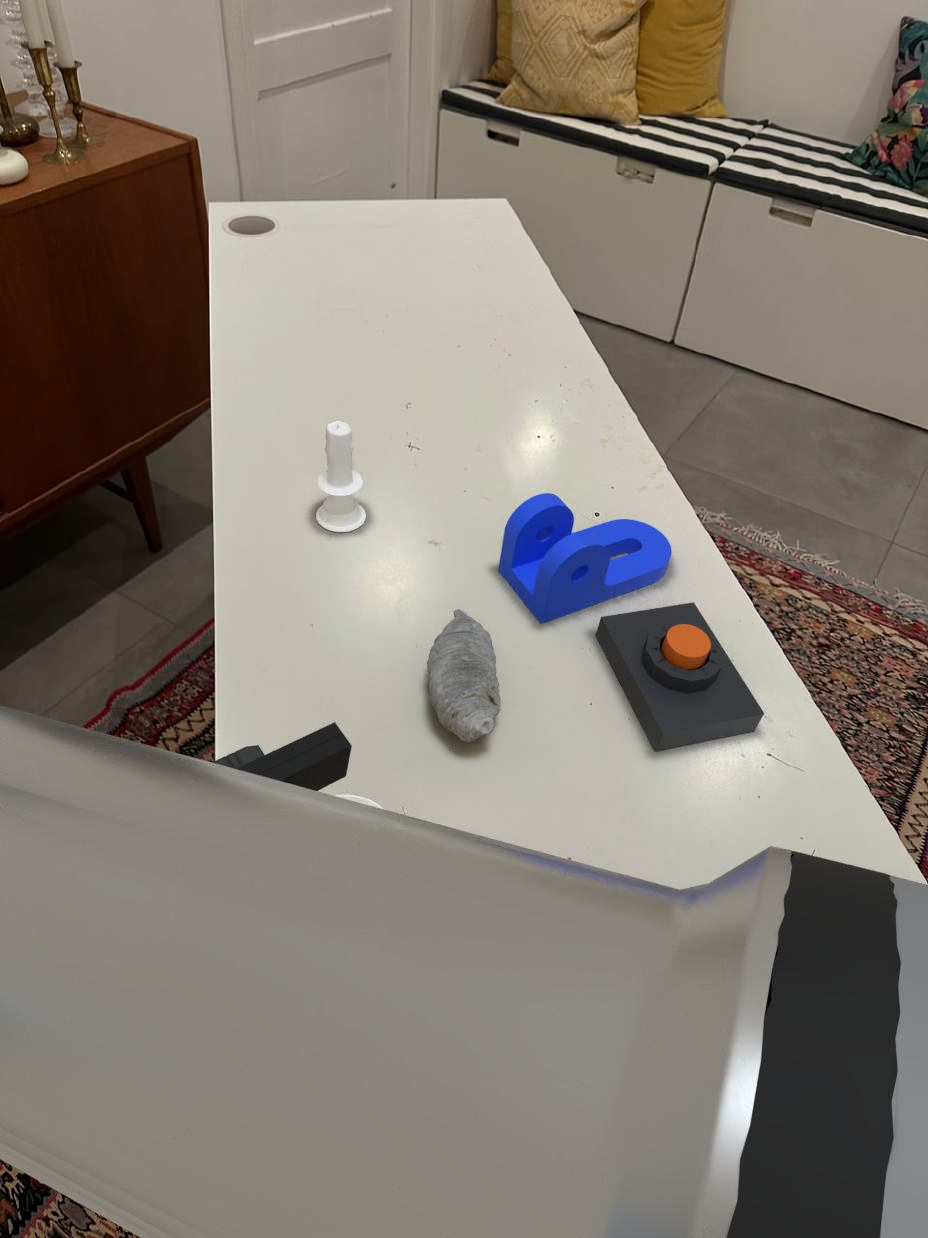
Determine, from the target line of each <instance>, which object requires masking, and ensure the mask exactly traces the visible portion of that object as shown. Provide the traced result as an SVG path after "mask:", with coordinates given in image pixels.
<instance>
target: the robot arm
mask: <svg viewBox="0 0 928 1238" xmlns="http://www.w3.org/2000/svg"><path fill="white" fill-rule="evenodd" d="M352 747H353V745H352V744H351V742H350V741H349V740H348V738H347V737H346V735H345V734H344V733H343V731H342V730H341V728H340V727H339V725H338V723H336V722H335V721H334V722H332V723H329V724H328V725H326V726H324V727H321V728H319V729H317V730H315V731H313V732H311V733H308V734H307V735H305V736H302V737H300V738H298V739H296V740H294V741H291V742H289V743H288V744H285V745H283V746H281V747H279V748H277V749H275V750H273V751H271V752H268V753H266V754H265V753H264V751H263V750H262V748H261V747H260V745H259V744H256V745H247V746H244V747H241V748H239V749H237V750H235V751H234V752H231V753H228V754H227V755H225V756H223V757H220V758H218V759H216V760H214V761H212V762H211V761H207V760H205V759H204V760H203V759H200V758H196V757H192V756H189V755H185V754H183V753H182V754H181V753H177V752H175V751H170V750H167V749H163V748H159V747H156V746H152V745H148V744H144V743H142V742H137V741H134V740H130V739H126V738H123V737H119V736H115V735H112V734H108V733H104V732H100V731H96V730H94V729H89V728H86V727H82V726H78V725H76V724H71V723H67V722H64V721H60V720H57V719H54V718H49V717H45V716H42V715H38V714H34V713H31V712H27V711H23V710H20V709H16V708H12V707H9V706H5V705H1V704H0V1160H1V1161H2V1162H4V1163H5V1164H8V1165H10V1166H12V1167H14V1168H15V1169H17V1170H19V1171H20V1172H22V1173H24V1174H26V1175H27V1176H30V1177H31V1178H33V1179H35V1180H36V1181H38V1182H40V1183H42V1184H43V1185H46V1186H47V1187H49V1188H50V1189H53V1190H54V1191H57V1192H58V1193H60V1194H61V1195H63V1196H65V1197H67V1198H69V1199H70V1200H72V1201H74V1202H76V1203H78V1204H80V1205H81V1206H83V1207H84V1208H86V1209H88V1210H91V1211H92V1212H93V1213H96V1214H98V1215H99V1216H101V1217H103V1218H105V1219H107V1220H108V1221H110V1222H112V1223H114V1224H115V1225H117V1226H119V1227H121V1228H122V1229H124V1230H126V1231H128V1232H130V1233H132V1234H133V1235H134V1236H137V1237H139V1238H928V884H926V883H922V882H918V881H914V880H910V879H907V878H903V877H899V876H896V875H891V874H889V873H888V874H887V873H886V872H882V871H877V870H874V869H870V868H865V867H860V866H858V865H852V864H850V863H849V864H848V863H845V862H842V861H841V862H840V861H837V860H832V859H829V858H824V857H821V856H816V855H811V854H808V853H804V852H799V851H796V850H792V849H788V848H784V847H783V848H782V847H778V846H773V845H770V846H768V847H767V848H765V849H763V850H761V851H760V852H758V853H756V854H755V855H753V856H751V857H750V858H748V859H746V860H745V861H743V862H742V863H741V862H740V864H738V865H736V866H735V867H733V868H731V869H730V870H728V871H726V872H724V873H723V874H721V875H720V876H718V877H716V878H714V879H713V880H711V881H709V882H708V883H703V884H699V885H695V886H690V887H686V888H681V889H680V888H679V889H678V888H675V887H671V886H668V885H664V884H660V883H657V882H653V881H649V880H646V879H642V878H639V877H634V876H631V875H627V874H624V873H619V872H616V871H612V870H609V869H605V868H602V867H598V866H594V865H591V864H586V863H583V862H579V861H576V860H572V859H568V858H565V857H561V856H557V855H554V854H549V853H547V852H543V851H539V850H535V849H531V848H527V847H524V846H522V845H521V846H520V845H517V844H513V843H509V842H506V841H503V840H498V839H496V838H495V839H494V838H491V837H488V836H483V835H479V834H476V833H472V832H470V831H469V832H468V831H465V830H462V829H458V828H455V827H451V826H447V825H443V824H439V823H435V822H432V821H428V820H425V819H421V818H417V817H415V816H410V815H406V814H402V813H399V812H394V811H392V810H388V809H385V808H384V809H385V810H384V809H381V808H377V807H373V806H370V805H366V804H362V803H359V802H355V801H351V800H348V799H344V798H340V797H337V796H333V794H329V793H326V792H322V791H321V790H323V789H324V788H326V787H328V786H330V785H332V784H334V783H337V782H338V781H340V780H342V779H344V778H346V777H347V773H348V768H349V763H350V757H351V752H352Z"/></svg>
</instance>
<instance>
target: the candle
mask: <svg viewBox="0 0 928 1238" xmlns="http://www.w3.org/2000/svg"><path fill="white" fill-rule="evenodd" d="M352 431H353V430H352V427H351V426H350V424H349V423H347V422H344V421H340V420H334V421H333V422H331V423H327V425H326V427H325V446H324V452H325V454H326V467H327V470H325V471H323V472H322V473H321V474H319V476H318V477H317V486H318V488H319V489H320V490H321V491H322V493H325V494H328V495H329V496H328V497H327V498H326V499H324V501H323V503H322V505H321V506H320V507H318V509H317V511H316V514H315V519H316V521H317V523H318V524H319V525H320V526H321V527H322V528H323V529H326V530H327V531H330V532H334V533H349V532H352V531H355V530H357V529H359V528H360V527H362V526H363V524H364V523H365V522H366V519H367V513H366V510H365V509H364V507H363V506H362V505H360V504H359V502H358V501H357V499H356V498H354V497H353V496H352V495H354V494H356V493H358V492H359V491H360V490H361V489H362V487H363V485H364V479H363V477H362V476H361V475H360V473H358V471H355V470H354V469H353V451H354V443H353V432H352Z"/></svg>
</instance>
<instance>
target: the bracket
mask: <svg viewBox="0 0 928 1238" xmlns="http://www.w3.org/2000/svg"><path fill="white" fill-rule="evenodd" d="M574 524H575V515H574V513H573V511H572V510H571V509H570V507H568V506H567V504H566V503H565V502H564V501H563V500H562V499H561V498H560V497H559V496H558V495H556V494H554V493H550V492H544V493H539V494H536V495H534V496H533V495H532V496H531V497H530V498H528V499H526V500H525V501H523V502H522V503H520V504H519V506H517V507H516V508H515V510H514V511H513V512H512V513H511V514H510V516H509V518H508V519H507V521H506V524H505V528H504V531H503V538H502V544H501V549H500V555H499V563H498V568H497V569H498V570H497V571H498V573H499V574H500V575H501V576H502V578H503V579H504V580H505V582H506V583H507V584H508V585H509V586H510V588H511V589H512V590H513V592H514V593H515V594H516V595H517V596H518V597H519V599H520V600H521V601H522V603H523V604H524V605H525V607H526V608H527V609H528V610H529V611H530V613H531V614H532V615H533V616H534V618H535V619H536V621H538V623H539V624H540V625H543V624H545V623H548V622H551V621H553V620H556V619H559V618H563V617H565V616H567V615H570V614H574V613H575V612H579V611H581V610H584V609H586V608H590V607H592V606H595V605H598V604H601V603H604V602H607V601H609V600H611V599H615V598H617V597H620V596H623V595H625V594H628V593H631V592H633V591H637V590H639V589H642V588H645V587H647V586H650V585H652V584H655V583H657V582H659V581H660V580H661V579H662V578H663V577H664V576H665V574H666V572H667V568H668V566H669V563H670V560H671V557H672V553H673V551H672V545H671V543H670V541H669V540H668V538H667V537H666V535H665V534H664V533H662V532H661V531H660V530H659V529H657V528H655V527H654V526H653V525H651V524H648V523H646V522H643V521H641V520H636V519H629V518H617V519H613V520H608V521H606V522H603V523H600V524H596V525H592V526H590V527H587V528H584V529H581V530H577V531H574V532H573V528H574ZM625 553H627V554H625ZM621 554H625V555H622V556H619V555H621ZM616 556H619V557H616ZM613 557H615V558H613ZM611 558H613V559H611Z"/></svg>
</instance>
